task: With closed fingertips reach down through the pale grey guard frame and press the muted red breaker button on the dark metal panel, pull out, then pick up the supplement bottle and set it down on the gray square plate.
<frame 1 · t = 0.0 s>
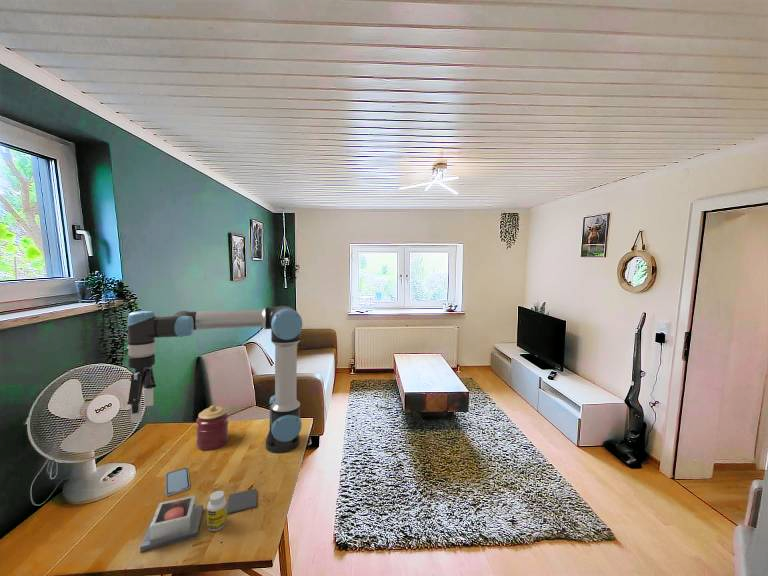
hand: (143, 413, 113), 28 cm above the table, fingers open, 13 cm apart
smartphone: (177, 482, 119), on the table
supplement bottle: (217, 525, 99), on the table
breaker button: (174, 528, 97), resting on breaker panel, slide at 0.0 cm
gray square plate: (242, 501, 109), on the table
canister: (212, 443, 145), on the table
breaker panel: (174, 528, 97), on the table
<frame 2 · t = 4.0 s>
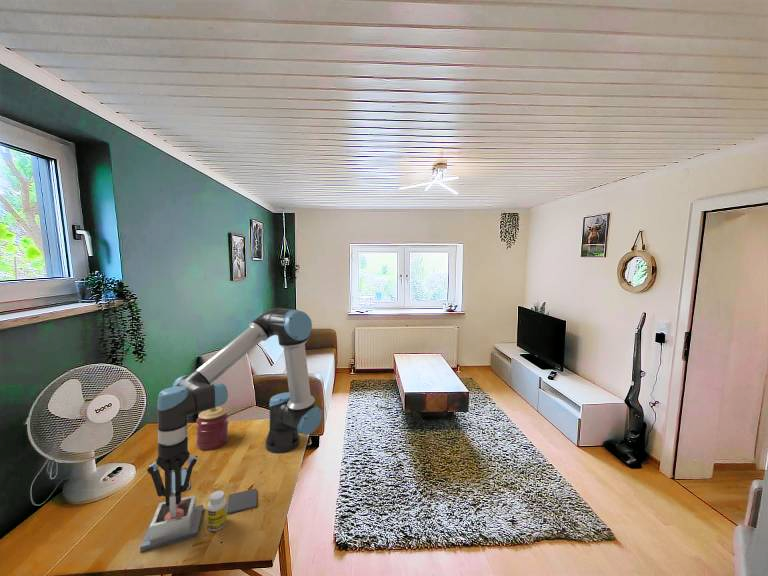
hand: (173, 514, 97), 5 cm above the table, fingers closed
breaker button: (174, 530, 97), resting on breaker panel, slide at 0.5 cm, touching gripper
everything else where it was.
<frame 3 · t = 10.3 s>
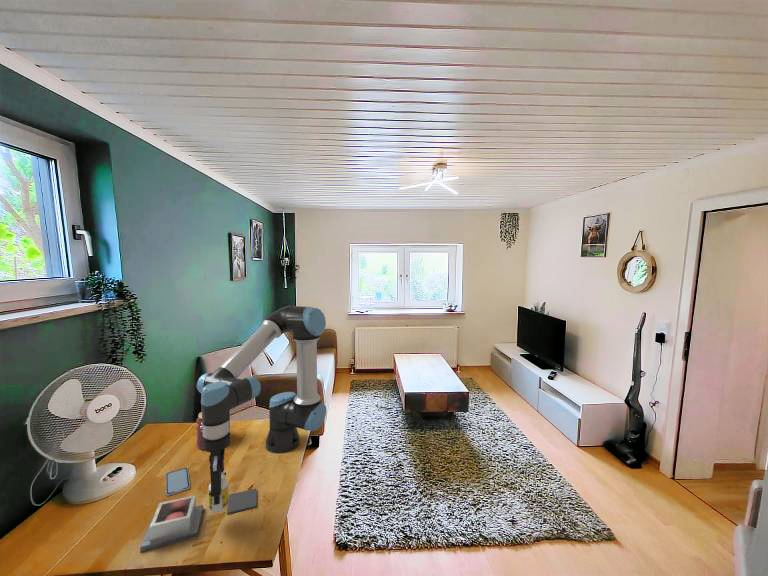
hand: (218, 504, 99), 6 cm above the table, fingers closed on supplement bottle, 5 cm apart
supplement bottle: (218, 506, 99), point 6 cm above the table, touching gripper
breaker button: (174, 533, 97), resting on breaker panel, slide at 1.6 cm
everything else where it was.
when the fingers open (1 cm above the table, at t = 14.4 s): supplement bottle stays where it is, resting on gray square plate.
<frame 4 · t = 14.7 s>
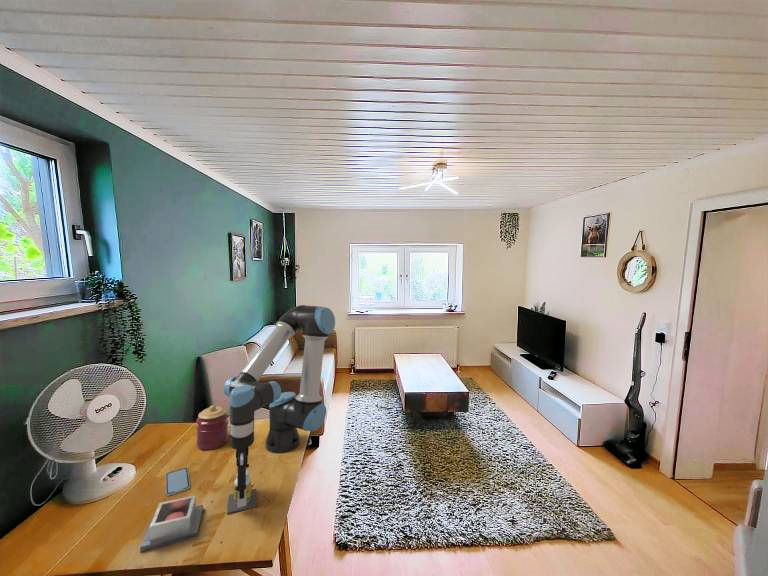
hand: (242, 496, 109), 2 cm above the table, fingers open, 9 cm apart
supplement bottle: (242, 500, 109), resting on gray square plate
everything else where it was.
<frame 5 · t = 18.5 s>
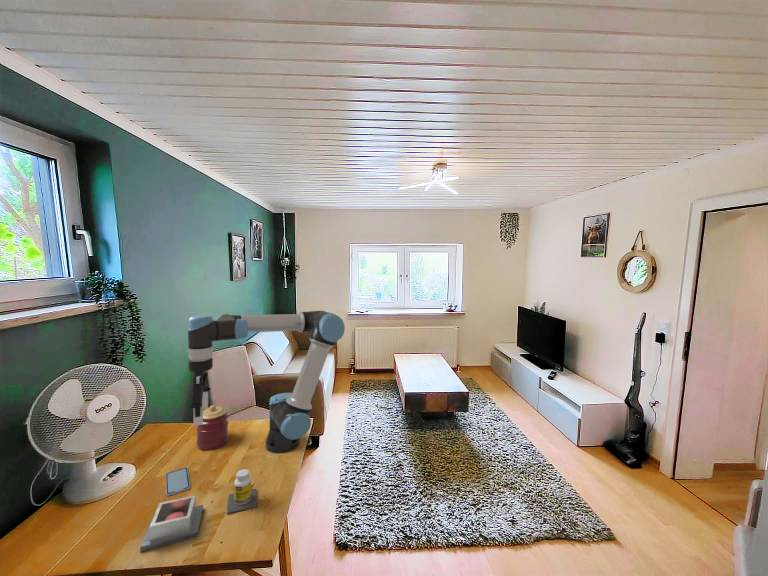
hand: (201, 416, 114), 27 cm above the table, fingers open, 13 cm apart
nothing on the table moved.
at the end: breaker button slide at 1.6 cm; supplement bottle inside the target area on the gray square plate (0.1 cm from its centre), point 0.4 cm above the gray square plate's base; supplement bottle tilted 0° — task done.
